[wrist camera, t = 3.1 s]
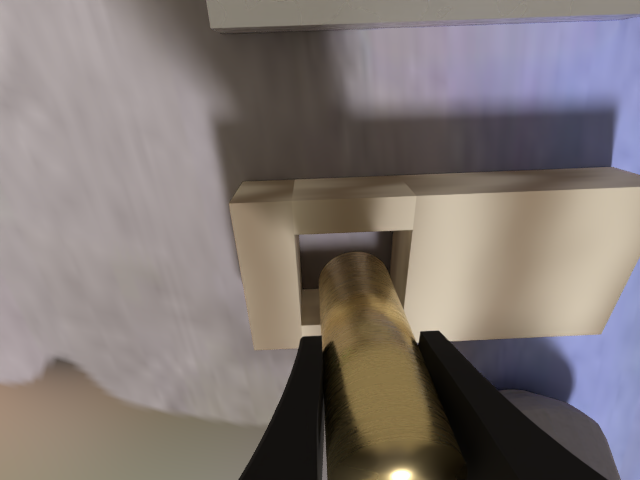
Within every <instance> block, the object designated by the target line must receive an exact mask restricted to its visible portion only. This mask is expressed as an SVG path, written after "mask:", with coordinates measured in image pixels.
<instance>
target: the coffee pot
mask: <svg viewBox="0 0 640 480" xmlns="http://www.w3.org/2000/svg"><path fill="white" fill-rule="evenodd" d="M499 392H500V393H501V394H502V395H503V396H504V397H506V398H507V399H508V400H509V401H510V402H511V403H512V404H513V405H514V406H515V407H517V408H518V409H519V410H520V411H521V412H522V413H523V414H524V415H525V416H527V417H528V418H529V419H530V420H531V421H532V422H534V423H535V424H536V425H537V426H538V427H539V428H541V429H542V430H543V431H544V432H546V433H547V434H548V435H549V436H551V437H552V438H553V439H554V440H556V441H557V442H558V443H559V444H561V445H562V446H563V447H564V448H566V449H567V450H568V451H570V452H571V453H572V454H573V455H575V456H576V457H577V458H579V459H580V460H581V461H583V462H584V463H585V464H587V465H588V466H590V467H591V468H592V469H594V470H595V471H597V472H598V473H599V474H601V475H602V476H603V477H605V478H606V479H608V480H621V479H620V476H619V473H618V470H617V468H616V465H615V462H614V459H613V456H612V453H611V450H610V448H609V445H608V442H607V439H606V437H605V435H604V434H603V432H602V430H601V428H600V426H599V425H598V423H596V422H595V421H594V420H593V419H591V418H590V417H589V416H587V415H586V414H584V413H583V412H581V411H580V410H578V409H577V408H575V407H573V406H572V405H570V404H568V403H566V402H563V401H560V400H556V399H553V398H550V397H546V396H543V395H539V394H534V393H531V392H528V391H525V390H513V389H510V390H500V391H499Z"/></svg>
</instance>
